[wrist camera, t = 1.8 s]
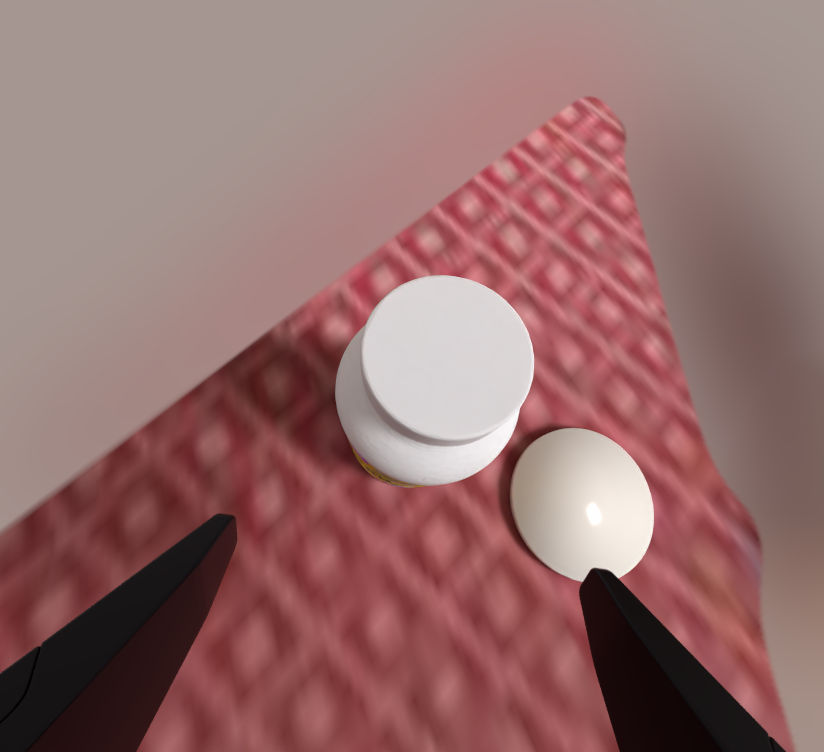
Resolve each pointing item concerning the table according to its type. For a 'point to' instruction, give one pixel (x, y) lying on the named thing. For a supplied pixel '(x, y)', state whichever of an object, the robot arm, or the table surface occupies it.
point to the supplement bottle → (434, 382)
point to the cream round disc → (581, 503)
